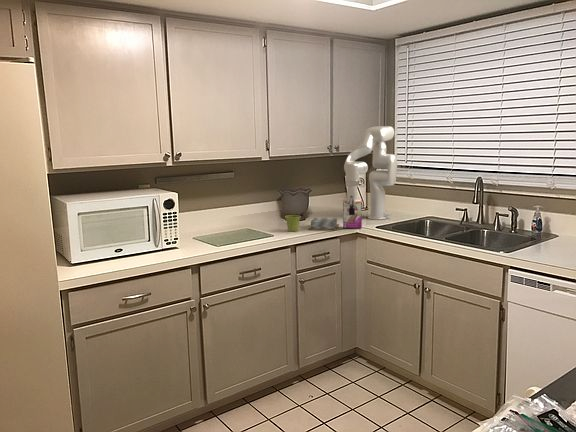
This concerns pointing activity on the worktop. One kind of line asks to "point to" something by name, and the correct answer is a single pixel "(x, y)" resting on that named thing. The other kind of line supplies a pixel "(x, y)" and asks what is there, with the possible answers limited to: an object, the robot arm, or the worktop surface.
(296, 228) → the plant pot
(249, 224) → the worktop surface
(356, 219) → the candy bar box
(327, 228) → the blueprint base
